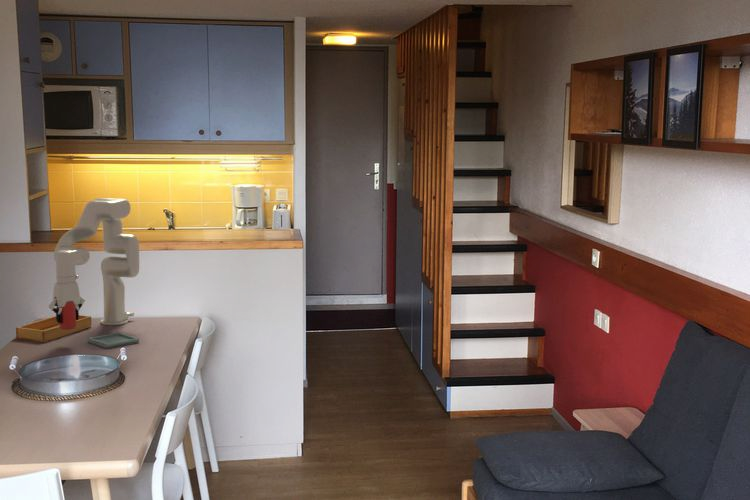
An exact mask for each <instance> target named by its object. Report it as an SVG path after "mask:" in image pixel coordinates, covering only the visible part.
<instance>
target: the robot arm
mask: <svg viewBox="0 0 750 500" xmlns="http://www.w3.org/2000/svg"><path fill="white" fill-rule="evenodd" d="M131 210H132V209H131V204H130V201H129V200H127V199H125V198H114V197H113V198H112V197H111V198H109V197H97V198H95V199H93V200H91V201H88V202H87V203H86V205H85V207H84V208H83V210H82V213H81V215H80V218H79V220H78V222H77V224H76V225H75V226H74V227H72V228H70V229H69V230H68V231H67V232H65V233H64V234H63V235H62V236H61V237H60V238H59V239H58V241H57V243H56V246H55V248H54V251H53V259H54V261H55V271H56V273H55V274H56V279H55V280H56V282H55V283H54V285H53V291H52V301H51V302H50V303H49V305H48V308H49V309H51V312H54V313H55V316H56V321H57V322H58V323H62V314H61V311H62V308H63V307H64V306H65V304H66V302H70V301H73V302H74V303H75V307H76V320H78V317H79V315H80V313H79V311H81V308H82V307H83V304H84V303H85V302H86V300H85V299H84V298H83V297H82V296H80V288H79V283H78V282H77V279H79V275H76V266H82V265H85V264H87V263H88V261H89V259H90V255H91V254H90V251H88V249H86V248H85V247H80V246H72V245H74V244H76V243H78V242H82V241H83V240H86V239H91V237H94V236H95V235H96V233H97V231H98V229H99V226H100V224H102V233H103V236H102V237H103V250H104V252H106V253H108V254H112V256H111V255H110V256H106V257H104V258H103V259H102V260H101V263H100V272H101V276H102V281H103V283H102V285H103V286H102V287H103V318H102V319H100V324H101V325H107V326H119V325H125V324H127V323H129V319H128V318H130V317H134V316H135V313H134V312H132V311H131V312H128V311H126V308H125V307H126V306H125V305H126V304H125V303H126V301H125V300H126V298H125V293H126V292H125V291H126V290H125V282H124V281H123V279H122V278H135V277H137V276H138V275H139V273H140V243H139V240H138V238H137V236H135V234H129V233H123V223H122V221H121V219H124V218H125V219H126V218H127V217H128V216H129V214H130V213H131ZM113 254H114V255H113ZM115 255H117V256H115ZM119 255H125V256H119Z"/></svg>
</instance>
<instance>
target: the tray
mask: <svg viewBox="0 0 750 500" xmlns="http://www.w3.org/2000/svg"><path fill="white" fill-rule="evenodd" d="M88 328H92V316H90V315H84V314H79V317H78V320H76V327H75V328H74V329H70V330H63V329H61V328H60V323H58V322H57V321H56V315H53V316H50V317H48V318H44V319H40V320H37V321H34V322H33V321H32V322H30V323H26V324H23V325H19V326H17V327H15V338H16V339H18V340H26V341H33V342H41V343H46V341H47V342H50V341H52V339H53V340H55V339H58V338H61V337H64V336H65V337H66V336H68V335H71V334H74V333H76V332H79V331H83V330H85V329H88ZM49 340H50V341H49Z"/></svg>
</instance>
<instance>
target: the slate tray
mask: <svg viewBox="0 0 750 500" xmlns="http://www.w3.org/2000/svg"><path fill="white" fill-rule="evenodd" d="M87 339H88V340H87V342H88V343H89V344H92V345H95V346H98V347H101V348H105V349H113V348H114V349H115V348H119V347H122V346H123V347H124V346H128V345H133V344H137V343H138V344H139V343H140V341H139V340H140V339H139V337H138V338H137V337H135V336H131V335H129V334H126V333H125V334H124V333H123V332H115V333H109V334H104V335H99V336H93V337H92V336H91V337H88V338H87Z"/></svg>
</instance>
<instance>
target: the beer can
mask: <svg viewBox="0 0 750 500" xmlns="http://www.w3.org/2000/svg"><path fill="white" fill-rule="evenodd" d="M61 314H62V323H60V328H61V329H63V330H70V329H74V328H75V327H76V307H75V303H74V302H73V301H70V302H66V304H65V306H64V307H63V308H62V311H61Z"/></svg>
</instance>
